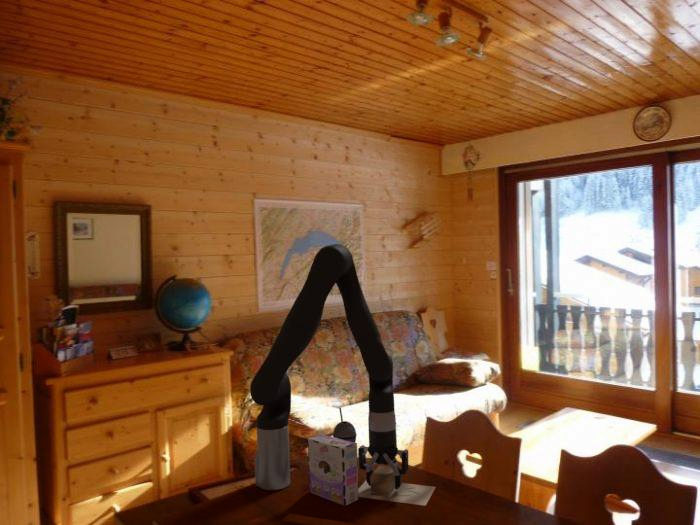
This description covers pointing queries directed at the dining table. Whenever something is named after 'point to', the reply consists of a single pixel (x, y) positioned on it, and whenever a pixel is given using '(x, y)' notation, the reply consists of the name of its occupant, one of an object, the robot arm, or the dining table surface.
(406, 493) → the board
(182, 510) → the dining table surface
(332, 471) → the candy box
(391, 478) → the block
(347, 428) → the beverage cup
